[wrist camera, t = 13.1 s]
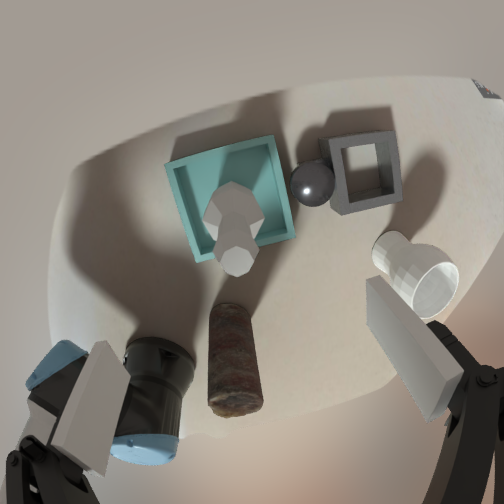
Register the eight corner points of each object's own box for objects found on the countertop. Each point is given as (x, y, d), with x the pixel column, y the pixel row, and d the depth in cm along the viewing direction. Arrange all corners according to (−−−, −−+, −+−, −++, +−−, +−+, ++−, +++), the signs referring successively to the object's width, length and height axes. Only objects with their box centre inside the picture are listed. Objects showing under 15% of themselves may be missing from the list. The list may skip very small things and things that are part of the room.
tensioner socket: (291, 217, 43) (300, 228, 38) (276, 147, 38) (283, 148, 33) (388, 194, 42) (406, 202, 37) (380, 130, 38) (398, 130, 33)
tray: (198, 253, 44) (196, 262, 41) (169, 162, 38) (164, 164, 35) (290, 229, 44) (295, 237, 40) (269, 134, 38) (273, 134, 34)
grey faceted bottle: (262, 196, 40) (299, 258, 20) (233, 226, 42) (239, 314, 21) (230, 166, 38) (234, 198, 18) (200, 198, 40) (173, 264, 19)
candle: (253, 301, 48) (266, 391, 30) (250, 333, 51) (261, 422, 33) (209, 300, 48) (201, 391, 29) (209, 332, 50) (205, 422, 32)
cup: (366, 225, 44) (415, 262, 31) (414, 220, 45) (468, 253, 31) (362, 280, 49) (401, 329, 35) (407, 272, 49) (451, 314, 35)
